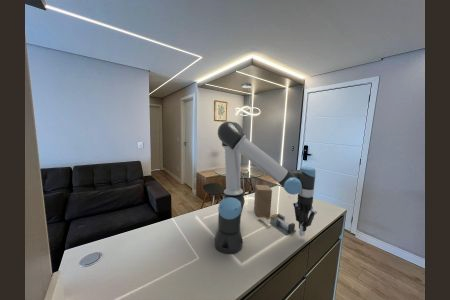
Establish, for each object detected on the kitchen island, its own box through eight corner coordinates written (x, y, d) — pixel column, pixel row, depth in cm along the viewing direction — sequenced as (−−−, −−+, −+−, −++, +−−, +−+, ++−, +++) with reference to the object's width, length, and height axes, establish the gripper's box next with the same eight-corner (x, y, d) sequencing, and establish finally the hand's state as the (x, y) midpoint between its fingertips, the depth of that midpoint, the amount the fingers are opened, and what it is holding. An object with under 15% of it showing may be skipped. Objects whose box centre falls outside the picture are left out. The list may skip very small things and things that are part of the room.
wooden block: (270, 217, 117) (272, 190, 114) (255, 216, 117) (257, 189, 114) (266, 210, 127) (268, 185, 124) (253, 209, 127) (255, 184, 124)
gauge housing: (279, 238, 95) (280, 229, 94) (256, 220, 112) (257, 213, 111) (295, 231, 101) (296, 223, 101) (271, 216, 119) (272, 209, 118)
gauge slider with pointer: (280, 237, 94) (281, 228, 93) (262, 223, 107) (263, 215, 106) (294, 231, 100) (295, 223, 99) (275, 219, 113) (276, 212, 112)
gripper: (321, 198, 86) (317, 239, 90) (299, 189, 98) (296, 227, 101) (312, 201, 83) (308, 244, 86) (290, 192, 94) (287, 230, 97)
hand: (301, 235), depth 93 cm, fingers closed
